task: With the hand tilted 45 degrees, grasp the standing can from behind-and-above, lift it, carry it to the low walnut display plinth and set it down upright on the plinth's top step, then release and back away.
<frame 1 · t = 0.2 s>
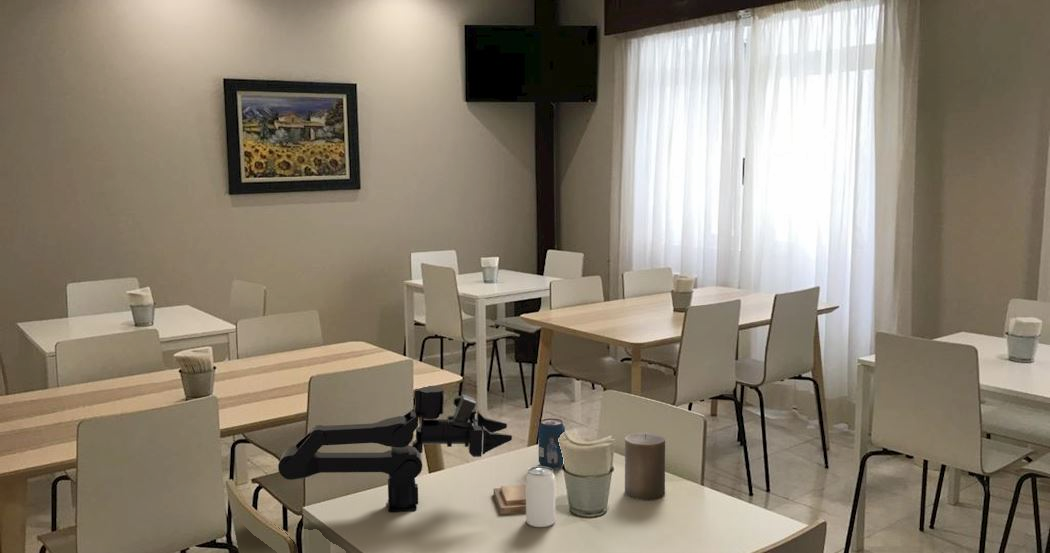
hand: (509, 431, 202), 17 cm above the table, tool horizontal, fingers open, 9 cm apart
soda can: (551, 466, 227), on the table
can: (540, 523, 191), on the table
pillar candle: (644, 493, 208), on the table
plinth: (522, 502, 202), on the table
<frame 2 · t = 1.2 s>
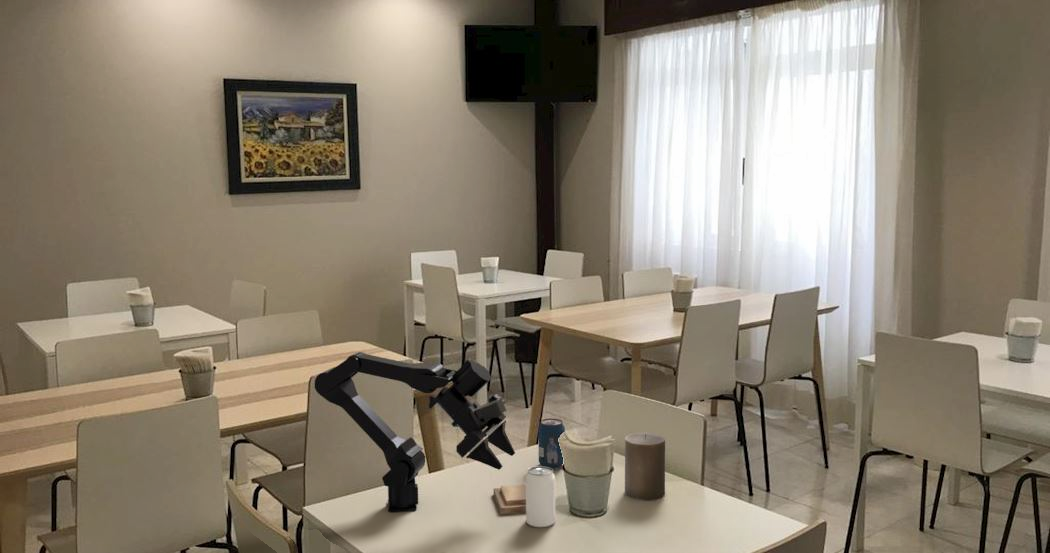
hand: (507, 461, 191), 13 cm above the table, tool tilted 45°, fingers open, 9 cm apart
nothing on the table moved.
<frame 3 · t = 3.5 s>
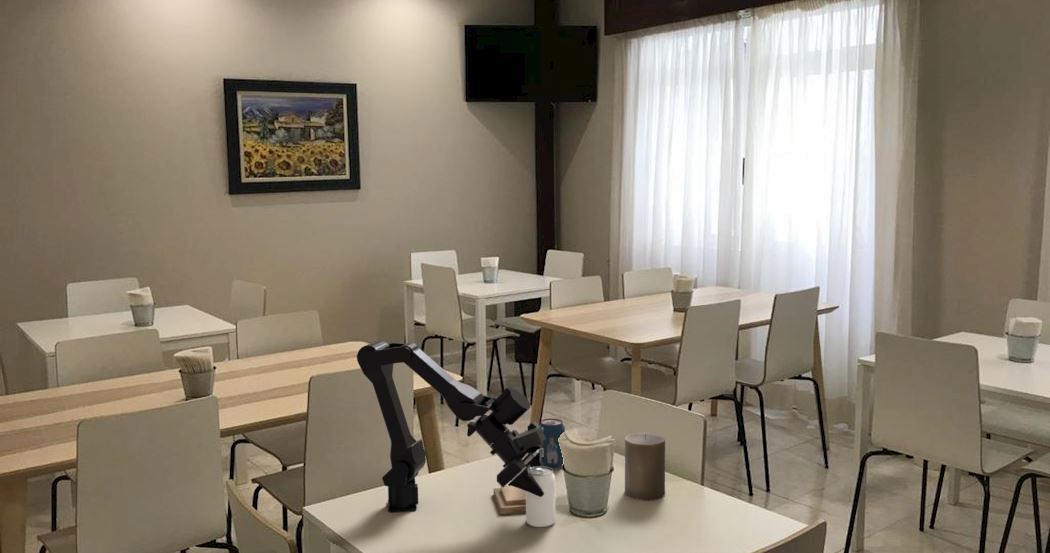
hand: (546, 490, 190), 8 cm above the table, tool tilted 45°, fingers closed on can, 6 cm apart
can: (540, 523, 191), on the table, touching gripper
everything else where it was.
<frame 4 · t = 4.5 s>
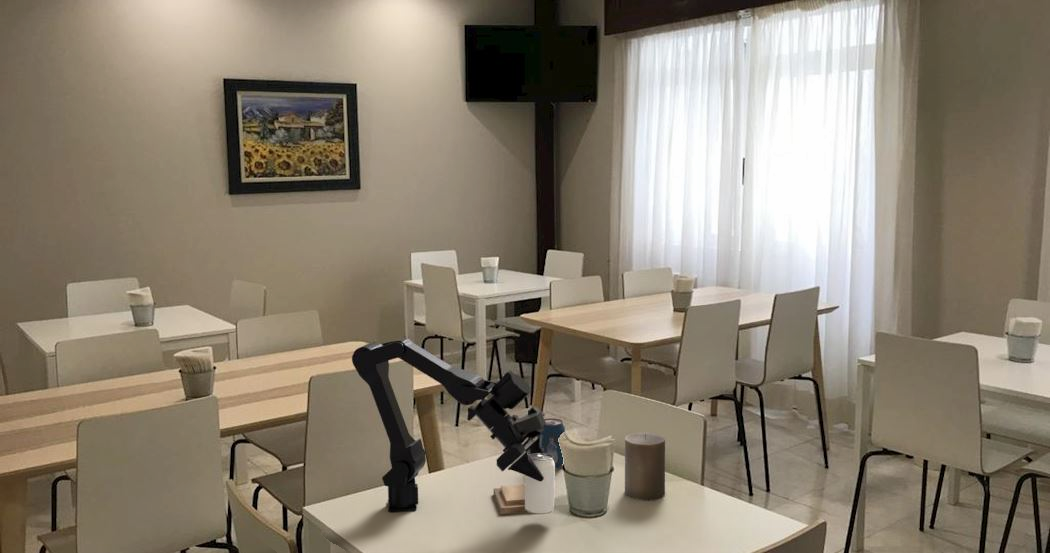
hand: (546, 474, 189), 11 cm above the table, tool tilted 45°, fingers closed on can, 6 cm apart
can: (539, 510, 190), point 3 cm above the table, touching gripper
everything else where it was.
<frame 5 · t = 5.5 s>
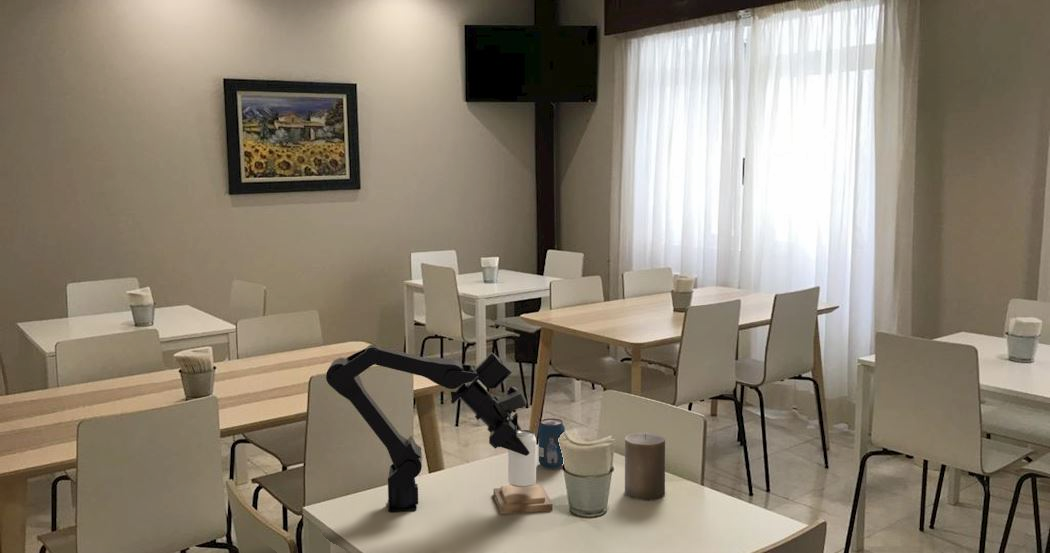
hand: (528, 449, 200), 13 cm above the table, tool tilted 45°, fingers closed on can, 6 cm apart
can: (522, 484, 200), point 5 cm above the table, touching gripper
everything else where it was.
when the fingers open (11 cm above the table, at t = 6.5 s): can stays where it is, resting on plinth.
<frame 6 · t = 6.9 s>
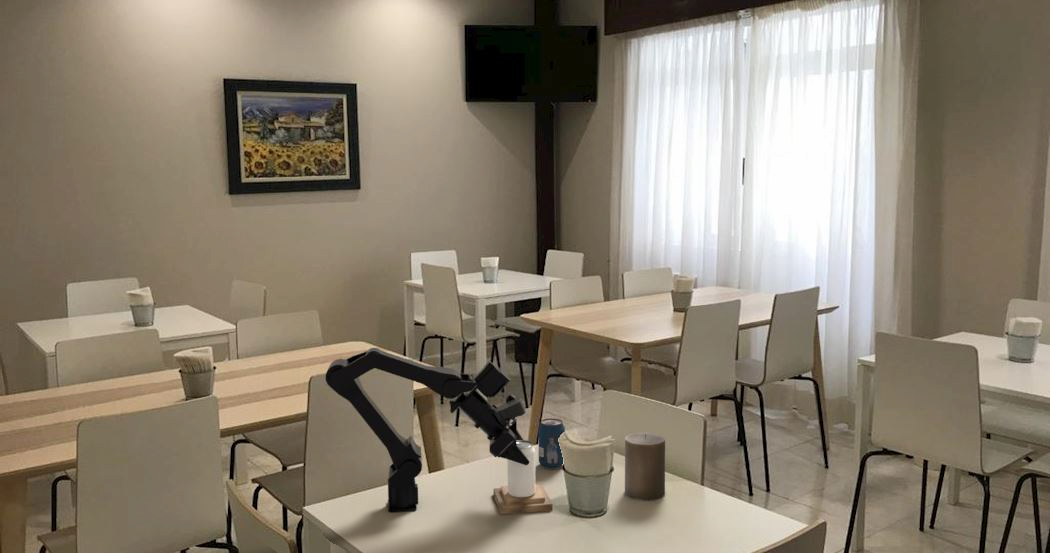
hand: (528, 456, 201), 11 cm above the table, tool tilted 45°, fingers open, 9 cm apart
can: (521, 494, 201), point 2 cm above the table, touching plinth
everything else where it was.
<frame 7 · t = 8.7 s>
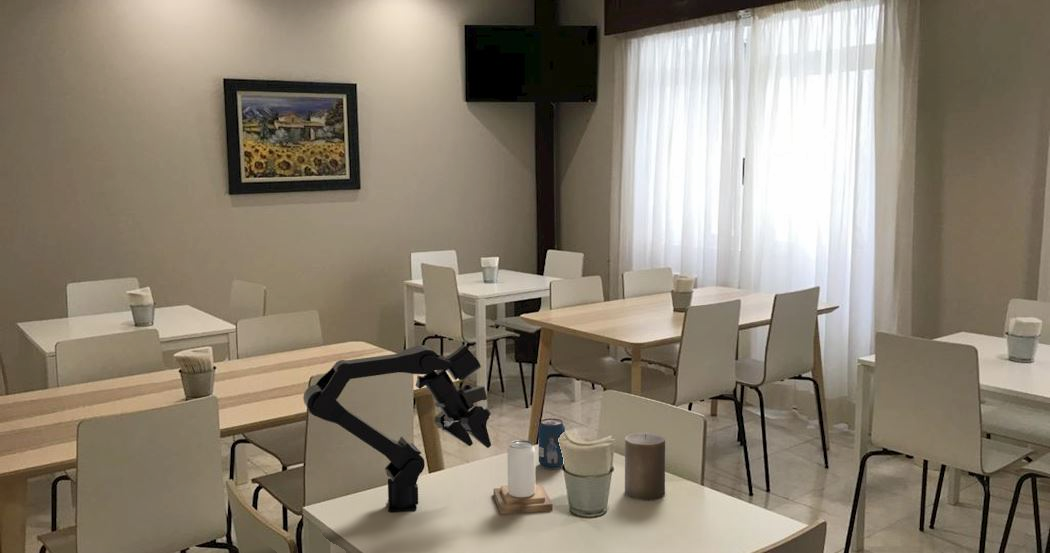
hand: (480, 445, 204), 13 cm above the table, tool tilted 30°, fingers open, 9 cm apart
nothing on the table moved.
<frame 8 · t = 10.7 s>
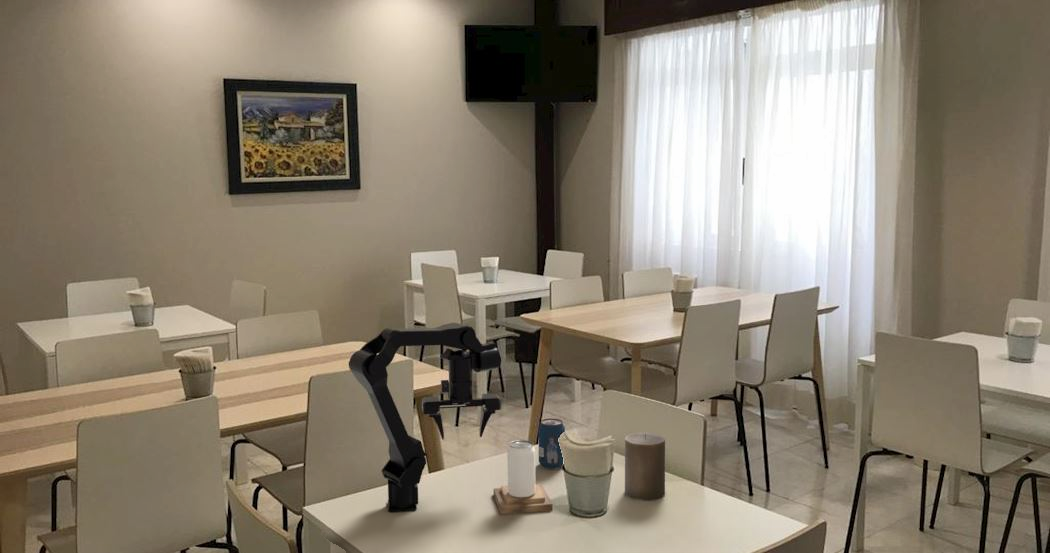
hand: (461, 437, 209), 13 cm above the table, tool pointing down, fingers open, 9 cm apart
nothing on the table moved.
at the end: can inside the target area on the plinth (0.8 cm from its centre), point 2.3 cm above the plinth's base; can tilted 0°; the gripper is holding nothing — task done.
